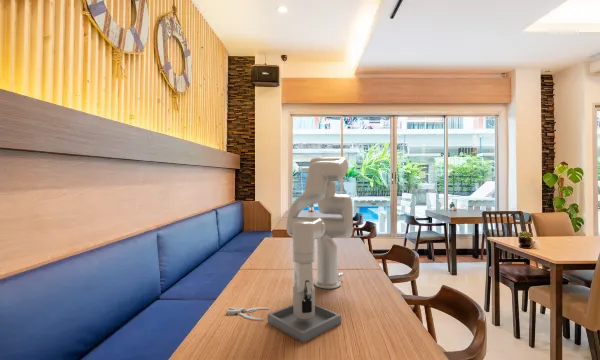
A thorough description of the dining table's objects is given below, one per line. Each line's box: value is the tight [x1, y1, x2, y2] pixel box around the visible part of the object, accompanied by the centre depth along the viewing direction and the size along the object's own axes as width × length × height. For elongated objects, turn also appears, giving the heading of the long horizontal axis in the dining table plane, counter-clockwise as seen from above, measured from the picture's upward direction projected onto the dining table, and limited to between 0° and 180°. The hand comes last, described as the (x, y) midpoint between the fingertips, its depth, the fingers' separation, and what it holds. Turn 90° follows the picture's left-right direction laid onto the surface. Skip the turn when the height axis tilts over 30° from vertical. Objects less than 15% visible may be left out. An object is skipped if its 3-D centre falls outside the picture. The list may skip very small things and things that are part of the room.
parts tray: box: [267, 303, 342, 344], centre depth 106 cm, size 18×18×3 cm
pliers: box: [225, 306, 270, 321], centre depth 114 cm, size 10×2×15 cm
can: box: [292, 283, 316, 321], centre depth 106 cm, size 8×8×12 cm
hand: (304, 306), depth 106 cm, fingers closed on can, 7 cm apart
